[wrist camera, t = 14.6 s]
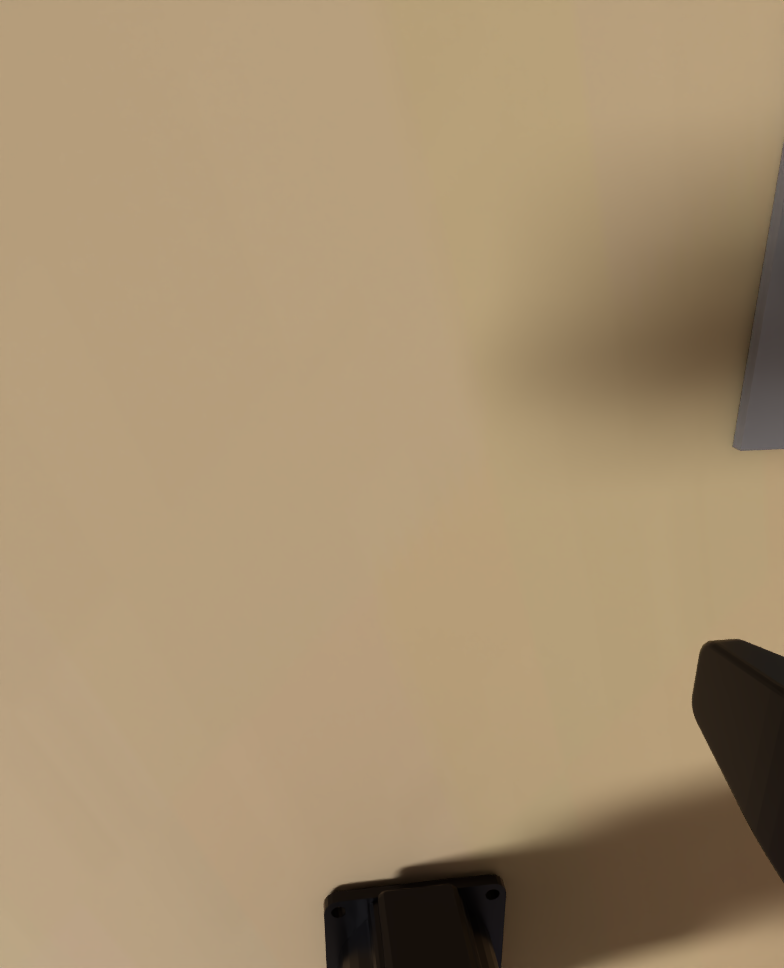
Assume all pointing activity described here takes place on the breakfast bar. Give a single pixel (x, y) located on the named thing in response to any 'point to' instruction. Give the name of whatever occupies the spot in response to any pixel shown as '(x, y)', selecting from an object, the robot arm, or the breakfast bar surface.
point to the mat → (766, 346)
